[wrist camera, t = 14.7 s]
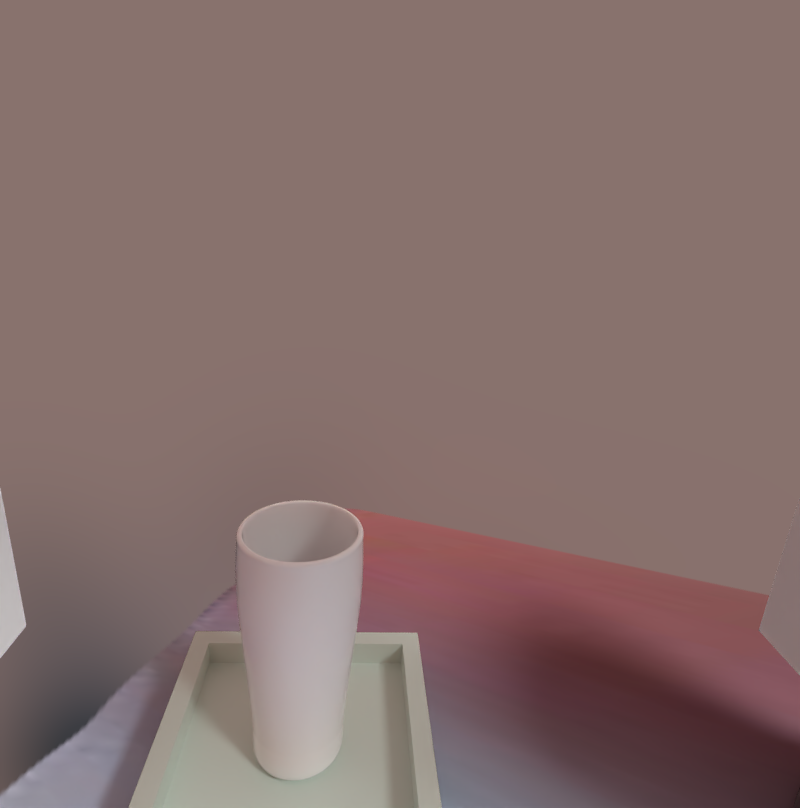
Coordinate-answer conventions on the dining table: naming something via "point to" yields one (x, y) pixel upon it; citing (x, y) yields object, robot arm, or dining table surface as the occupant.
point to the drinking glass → (298, 629)
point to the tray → (233, 735)
